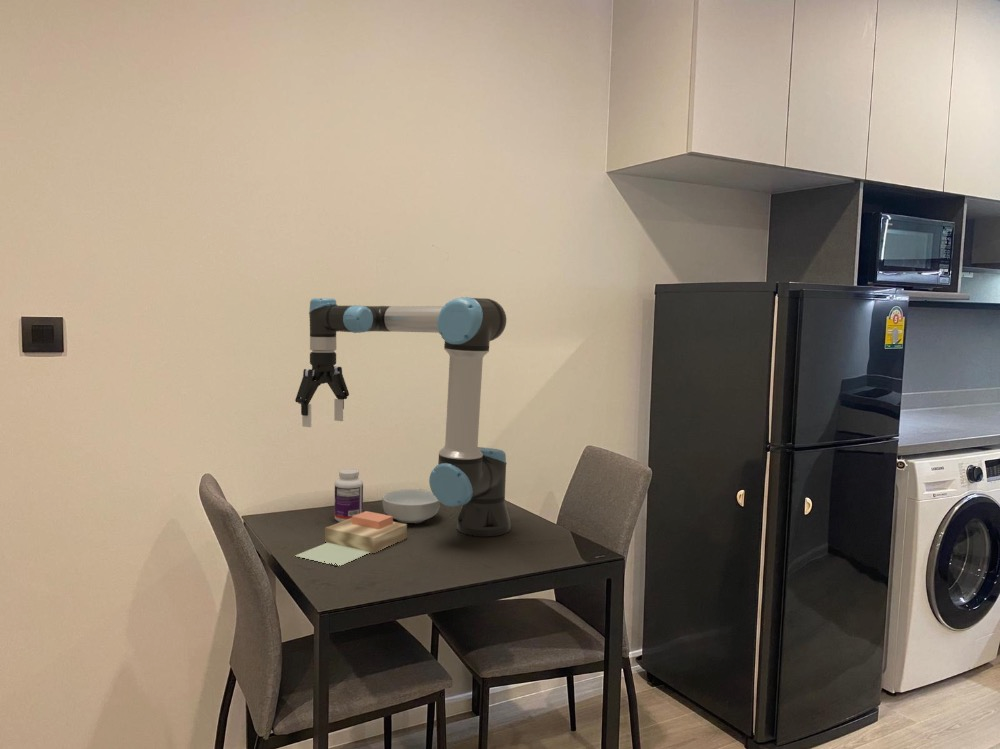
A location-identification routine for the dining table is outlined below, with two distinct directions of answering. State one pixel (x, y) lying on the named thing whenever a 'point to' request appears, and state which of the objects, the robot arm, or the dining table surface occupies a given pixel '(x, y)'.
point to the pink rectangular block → (372, 520)
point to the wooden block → (365, 535)
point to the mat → (333, 554)
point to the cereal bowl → (410, 505)
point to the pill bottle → (348, 495)
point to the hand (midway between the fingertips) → (323, 423)
